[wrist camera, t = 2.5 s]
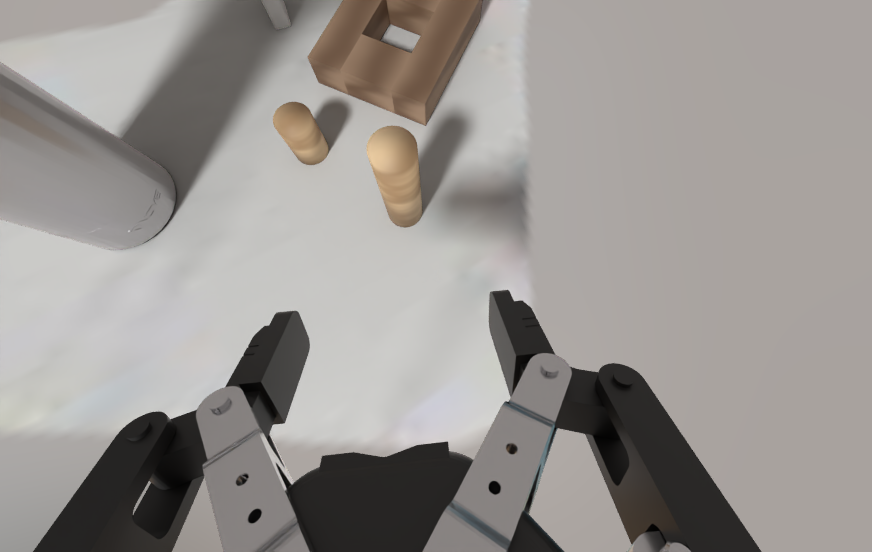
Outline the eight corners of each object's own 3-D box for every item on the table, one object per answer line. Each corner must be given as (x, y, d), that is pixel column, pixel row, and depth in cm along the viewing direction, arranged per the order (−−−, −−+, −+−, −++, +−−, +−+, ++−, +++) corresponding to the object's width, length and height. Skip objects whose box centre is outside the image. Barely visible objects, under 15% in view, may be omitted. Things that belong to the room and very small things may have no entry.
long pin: (382, 219, 30) (357, 159, 20) (397, 190, 30) (380, 118, 21) (413, 232, 30) (404, 179, 20) (427, 203, 30) (425, 136, 20)
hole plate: (318, 82, 33) (307, 57, 30) (379, -17, 35) (374, -50, 32) (425, 125, 32) (424, 103, 29) (479, 20, 34) (483, -10, 31)
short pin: (289, 157, 31) (265, 126, 27) (305, 130, 32) (284, 96, 27) (318, 169, 31) (299, 141, 26) (334, 142, 31) (318, 110, 27)
